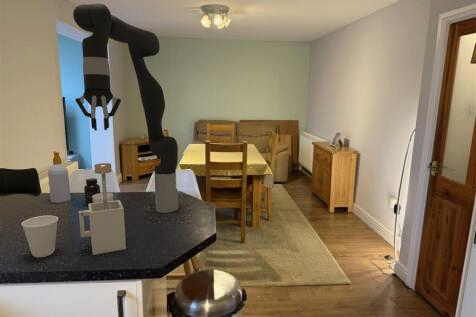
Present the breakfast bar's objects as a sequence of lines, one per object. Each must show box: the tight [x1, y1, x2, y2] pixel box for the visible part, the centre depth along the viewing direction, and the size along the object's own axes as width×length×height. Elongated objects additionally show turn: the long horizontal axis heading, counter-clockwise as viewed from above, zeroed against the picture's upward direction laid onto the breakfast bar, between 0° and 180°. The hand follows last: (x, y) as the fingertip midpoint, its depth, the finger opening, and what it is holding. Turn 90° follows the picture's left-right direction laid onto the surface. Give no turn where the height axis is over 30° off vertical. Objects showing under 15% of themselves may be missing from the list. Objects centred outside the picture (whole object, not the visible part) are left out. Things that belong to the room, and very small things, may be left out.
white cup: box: [92, 192, 114, 203], centre depth 134 cm, size 8×8×10 cm
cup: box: [21, 214, 59, 258], centre depth 103 cm, size 10×10×11 cm
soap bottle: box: [47, 150, 71, 204], centre depth 157 cm, size 9×9×24 cm
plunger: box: [94, 162, 112, 210], centre depth 106 cm, size 8×8×19 cm
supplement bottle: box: [83, 177, 101, 207], centre depth 152 cm, size 7×7×12 cm
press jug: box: [78, 199, 127, 256], centre depth 108 cm, size 13×10×14 cm
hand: (100, 129), depth 103 cm, fingers open, 2 cm apart
